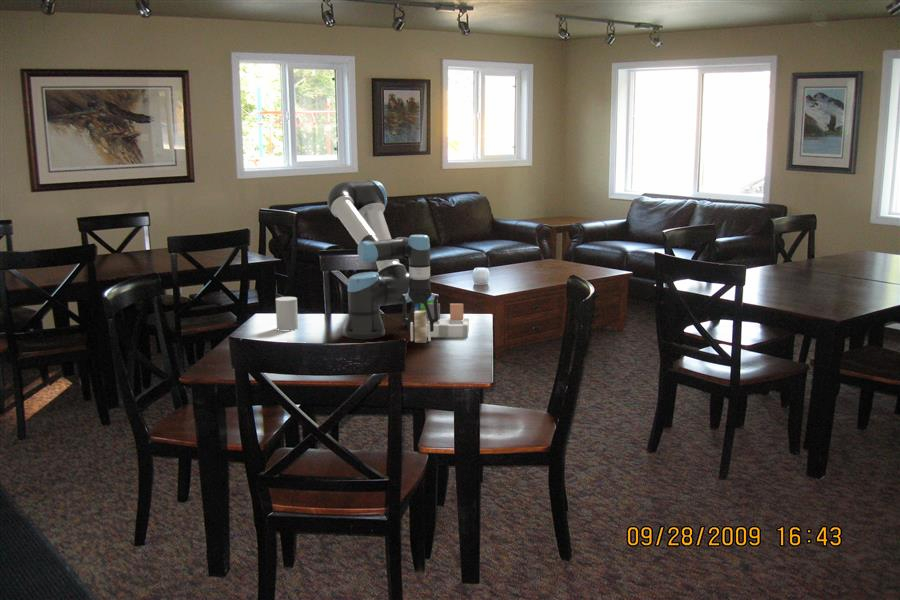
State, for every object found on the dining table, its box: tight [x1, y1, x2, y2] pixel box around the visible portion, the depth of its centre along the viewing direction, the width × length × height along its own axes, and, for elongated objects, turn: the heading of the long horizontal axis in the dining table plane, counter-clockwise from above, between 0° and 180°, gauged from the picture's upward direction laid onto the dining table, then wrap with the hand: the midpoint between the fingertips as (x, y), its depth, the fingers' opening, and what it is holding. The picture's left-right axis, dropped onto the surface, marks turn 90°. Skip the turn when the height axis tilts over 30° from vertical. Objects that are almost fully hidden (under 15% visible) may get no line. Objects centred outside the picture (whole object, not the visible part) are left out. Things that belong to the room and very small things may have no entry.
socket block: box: [426, 303, 470, 338], centre depth 319 cm, size 18×12×10 cm, turn 87°
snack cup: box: [411, 296, 439, 318], centre depth 338 cm, size 16×10×10 cm
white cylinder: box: [275, 296, 299, 331], centre depth 329 cm, size 8×8×12 cm
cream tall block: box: [413, 311, 428, 344], centre depth 307 cm, size 4×4×11 cm
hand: (420, 340), depth 308 cm, fingers open, 6 cm apart
